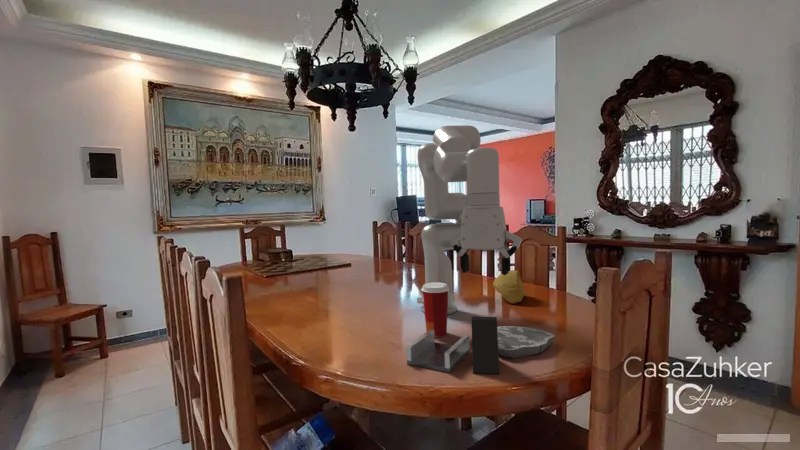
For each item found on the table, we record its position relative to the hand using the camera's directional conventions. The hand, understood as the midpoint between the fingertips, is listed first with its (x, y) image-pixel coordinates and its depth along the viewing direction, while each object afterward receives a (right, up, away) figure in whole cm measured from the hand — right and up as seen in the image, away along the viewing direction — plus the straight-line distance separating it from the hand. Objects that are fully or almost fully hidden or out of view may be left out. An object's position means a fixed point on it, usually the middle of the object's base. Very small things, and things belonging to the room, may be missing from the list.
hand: (485, 272), depth 94 cm
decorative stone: (+23, -18, +62) cm, 68 cm away
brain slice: (+11, -22, +13) cm, 28 cm away
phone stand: (0, -23, +1) cm, 23 cm away
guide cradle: (-10, -23, +7) cm, 26 cm away
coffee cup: (-9, -22, +25) cm, 34 cm away
